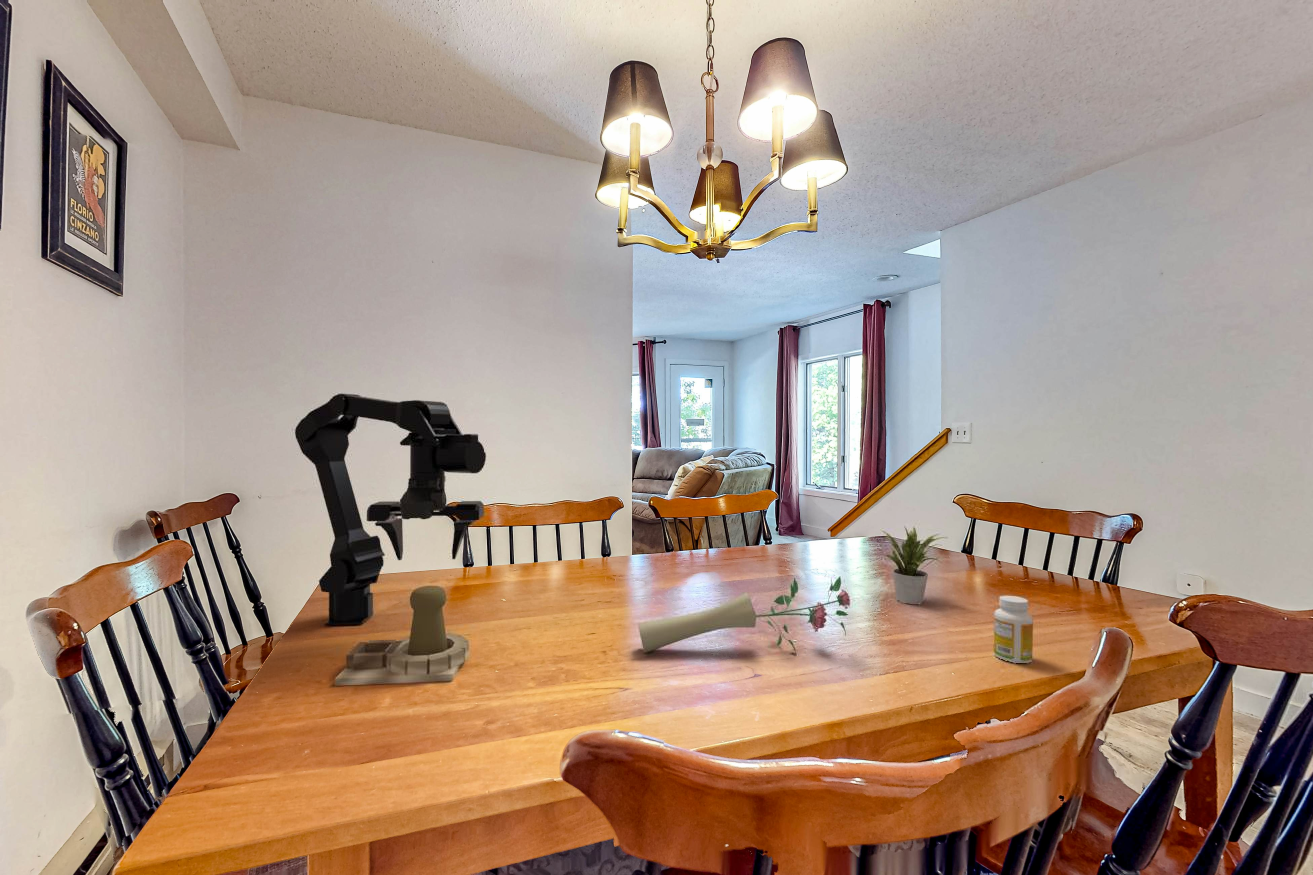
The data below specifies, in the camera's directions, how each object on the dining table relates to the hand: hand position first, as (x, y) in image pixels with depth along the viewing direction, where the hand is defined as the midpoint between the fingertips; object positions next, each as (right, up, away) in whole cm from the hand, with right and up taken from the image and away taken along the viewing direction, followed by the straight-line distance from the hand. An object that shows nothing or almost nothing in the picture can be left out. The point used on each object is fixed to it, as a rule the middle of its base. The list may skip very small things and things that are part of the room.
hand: (427, 559), depth 103 cm
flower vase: (+55, -14, -6) cm, 57 cm away
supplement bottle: (+99, -15, -9) cm, 100 cm away
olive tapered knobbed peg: (+6, -13, -14) cm, 20 cm away
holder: (+3, -13, -14) cm, 20 cm away
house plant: (+96, -14, +21) cm, 99 cm away
